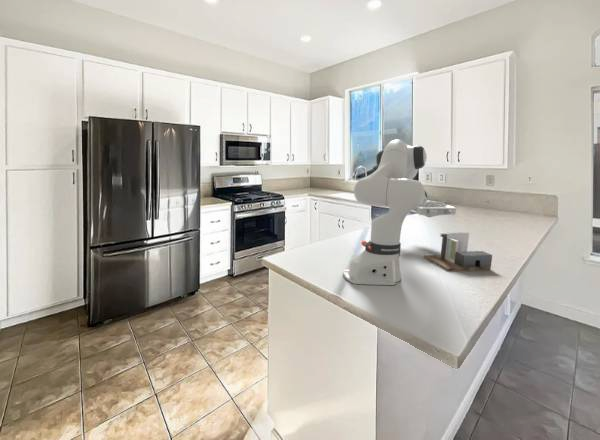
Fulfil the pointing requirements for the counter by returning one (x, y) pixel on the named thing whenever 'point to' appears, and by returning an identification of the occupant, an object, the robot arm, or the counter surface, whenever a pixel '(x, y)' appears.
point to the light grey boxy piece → (459, 239)
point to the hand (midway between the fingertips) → (444, 213)
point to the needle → (443, 246)
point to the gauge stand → (461, 258)
